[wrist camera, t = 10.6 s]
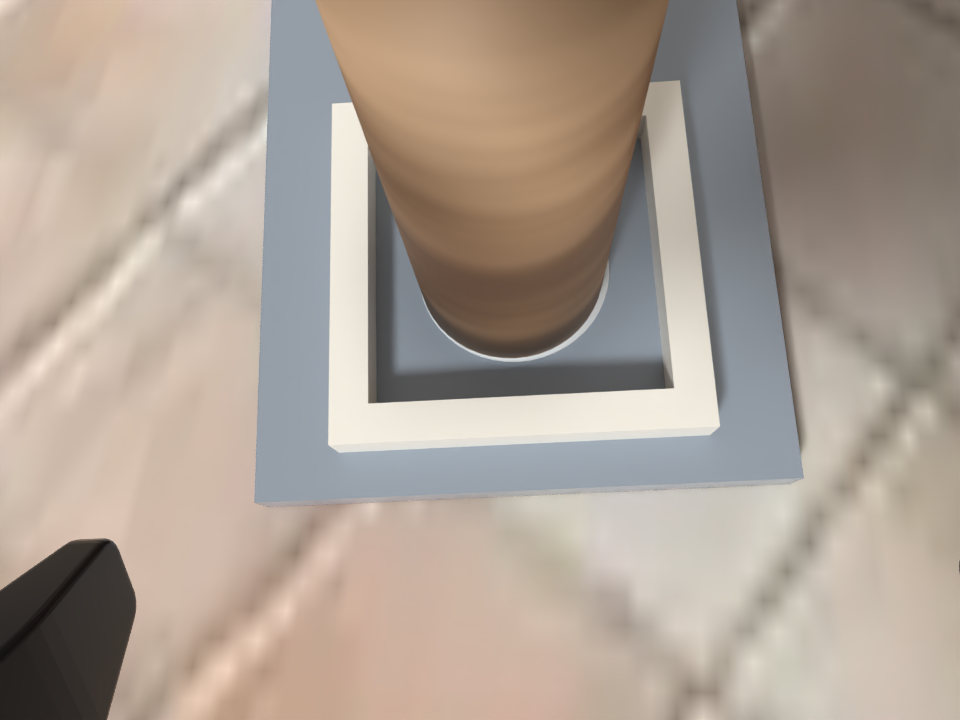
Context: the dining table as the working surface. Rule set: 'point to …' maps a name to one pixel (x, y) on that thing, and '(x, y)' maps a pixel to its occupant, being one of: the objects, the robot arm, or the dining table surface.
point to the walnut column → (501, 149)
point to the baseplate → (539, 378)
